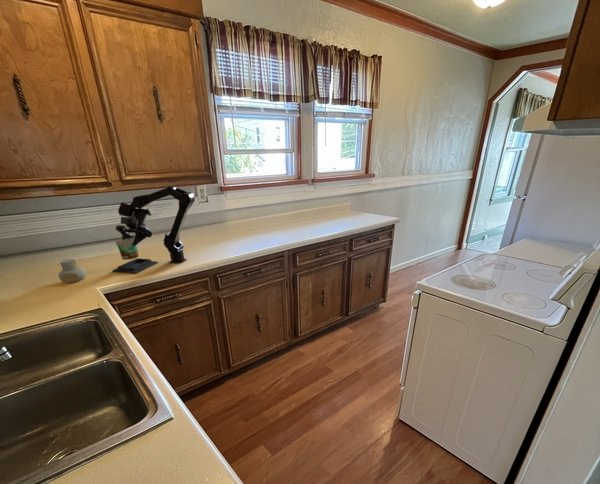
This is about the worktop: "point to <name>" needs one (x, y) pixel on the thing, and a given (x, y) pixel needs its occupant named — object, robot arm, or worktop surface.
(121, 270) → the pad
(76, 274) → the air freshener
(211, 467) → the worktop surface
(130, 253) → the food container
